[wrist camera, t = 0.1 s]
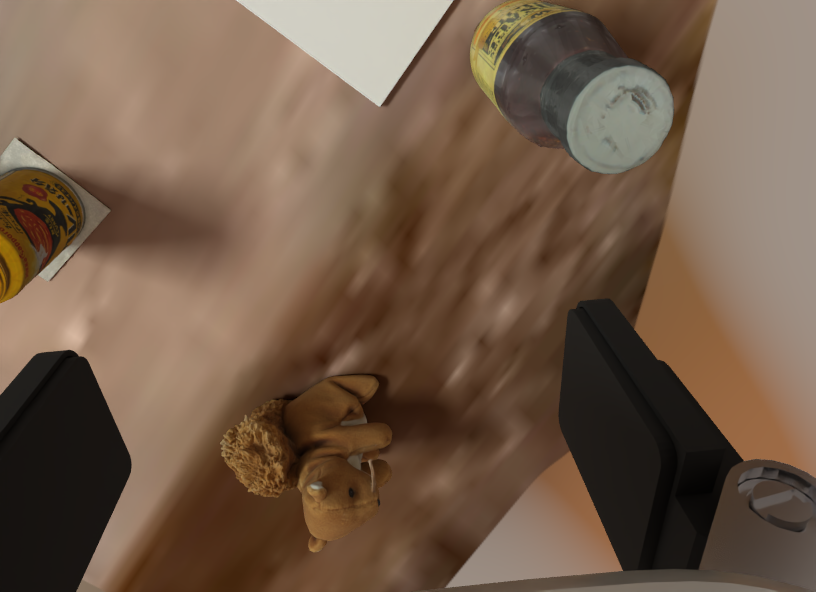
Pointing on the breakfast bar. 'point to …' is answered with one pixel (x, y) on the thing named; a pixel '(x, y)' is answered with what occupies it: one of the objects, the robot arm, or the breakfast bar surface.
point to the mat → (356, 35)
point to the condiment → (39, 218)
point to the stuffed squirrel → (316, 454)
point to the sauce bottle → (570, 85)
